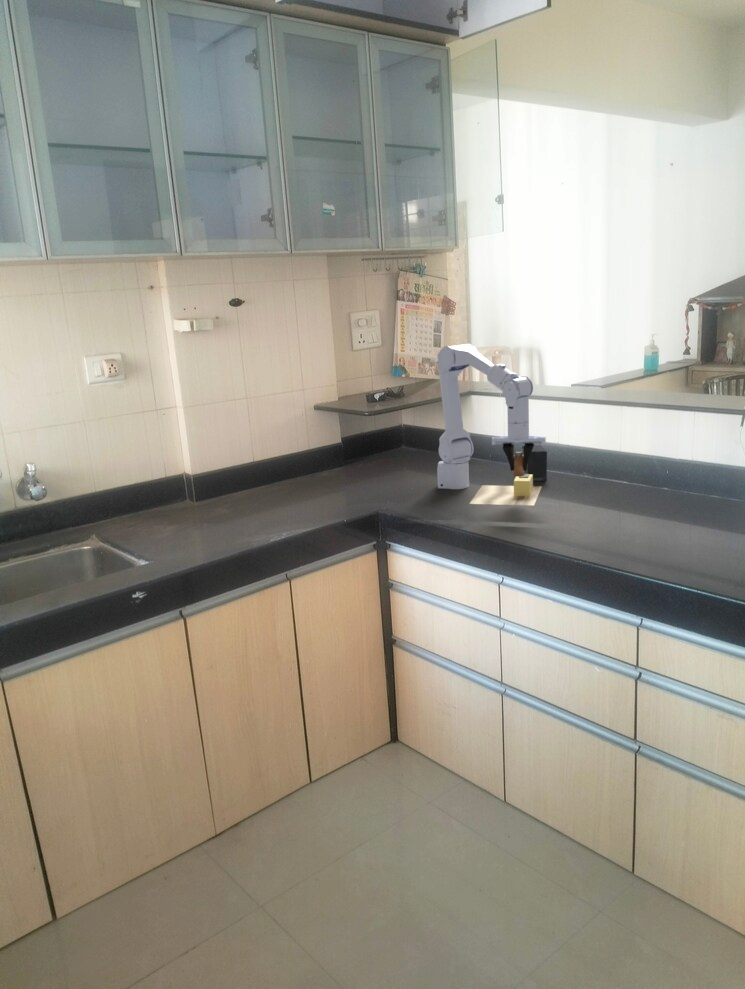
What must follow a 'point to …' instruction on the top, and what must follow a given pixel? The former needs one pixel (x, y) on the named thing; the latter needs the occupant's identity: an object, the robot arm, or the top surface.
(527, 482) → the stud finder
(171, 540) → the top surface
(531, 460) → the small box
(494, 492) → the plywood panel
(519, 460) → the brown jar
